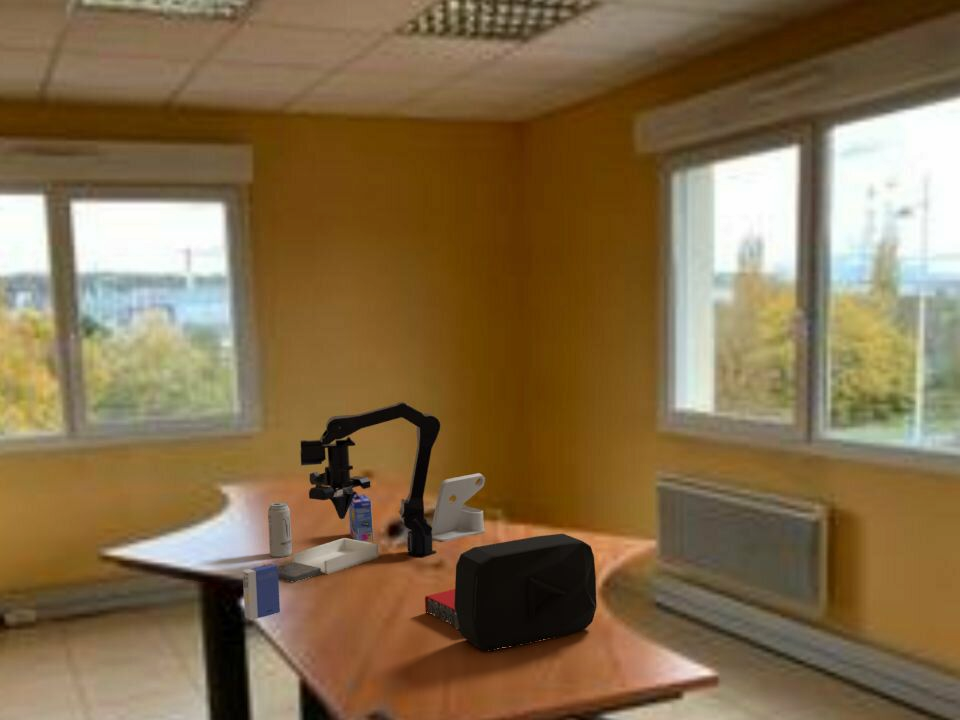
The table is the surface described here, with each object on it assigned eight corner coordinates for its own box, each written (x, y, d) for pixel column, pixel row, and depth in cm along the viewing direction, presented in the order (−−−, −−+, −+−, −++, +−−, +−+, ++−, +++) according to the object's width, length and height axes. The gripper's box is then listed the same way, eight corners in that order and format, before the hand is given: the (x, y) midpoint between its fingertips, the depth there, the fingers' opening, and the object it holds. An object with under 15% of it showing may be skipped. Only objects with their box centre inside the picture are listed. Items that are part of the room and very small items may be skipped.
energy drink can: (286, 559, 274) (284, 506, 273) (266, 559, 275) (264, 506, 274) (295, 553, 280) (292, 501, 278) (275, 553, 281) (272, 501, 280)
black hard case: (574, 617, 221) (572, 529, 219) (606, 633, 210) (605, 541, 209) (454, 643, 207) (451, 550, 205) (482, 662, 196) (479, 564, 194)
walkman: (273, 612, 230) (271, 561, 229) (280, 615, 228) (277, 564, 227) (243, 620, 224) (241, 569, 223) (250, 623, 222) (247, 571, 221)
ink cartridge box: (348, 535, 299) (347, 487, 298) (366, 533, 301) (365, 486, 300) (355, 542, 290) (353, 494, 289) (374, 540, 292) (372, 492, 291)
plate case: (378, 558, 272) (378, 544, 272) (327, 576, 257) (326, 561, 257) (344, 551, 280) (344, 537, 280) (292, 568, 265) (292, 553, 265)
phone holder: (466, 525, 307) (464, 468, 305) (488, 531, 299) (486, 472, 298) (422, 536, 295) (420, 477, 294) (443, 542, 288) (441, 481, 286)
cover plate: (321, 577, 258) (320, 568, 258) (294, 586, 251) (294, 576, 251) (295, 571, 264) (295, 562, 264) (269, 579, 257) (268, 570, 257)
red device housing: (425, 616, 225) (424, 595, 225) (476, 603, 233) (476, 582, 233) (469, 638, 210) (468, 615, 210) (522, 623, 218) (521, 601, 218)
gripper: (341, 454, 282) (344, 508, 283) (293, 466, 267) (296, 523, 268) (370, 457, 275) (373, 512, 276) (322, 469, 260) (325, 527, 261)
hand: (341, 518), depth 271 cm, fingers closed
